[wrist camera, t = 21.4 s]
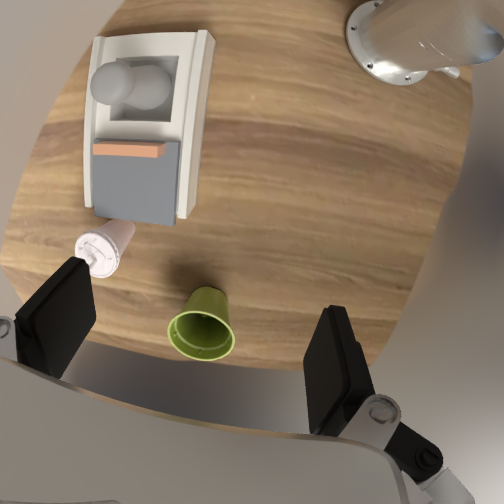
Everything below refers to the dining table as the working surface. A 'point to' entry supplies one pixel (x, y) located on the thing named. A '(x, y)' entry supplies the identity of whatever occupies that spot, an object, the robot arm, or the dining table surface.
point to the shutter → (136, 179)
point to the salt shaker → (130, 85)
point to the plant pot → (203, 326)
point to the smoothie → (104, 246)
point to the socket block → (163, 116)
